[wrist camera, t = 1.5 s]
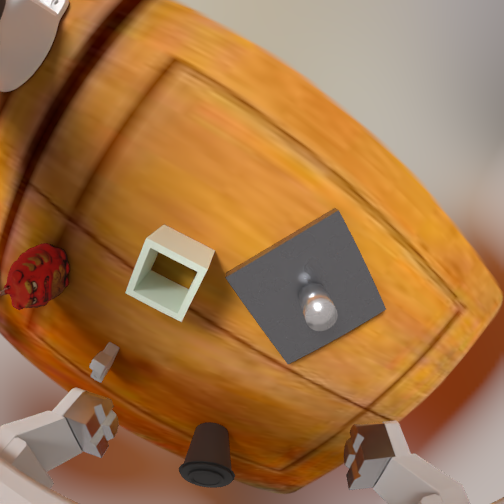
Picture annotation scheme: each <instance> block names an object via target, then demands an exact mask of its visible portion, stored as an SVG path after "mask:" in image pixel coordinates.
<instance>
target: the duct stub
mask: <svg viewBox="0 0 504 504" xmlns="http://www.w3.org/2000/svg"><path fill="white" fill-rule="evenodd" d="M225 278H226V279H227V281H228V282H229V284H230V285H231V286H232V288H233V289H234V291H235V292H236V293H237V295H238V296H239V298H240V299H241V301H242V302H243V303H244V305H245V306H246V308H247V309H248V310H249V312H250V313H251V314H252V316H253V317H254V319H255V320H256V321H257V323H258V324H259V326H260V327H261V328H262V330H263V331H264V332H265V334H266V335H267V337H268V338H269V339H270V341H271V342H272V343H273V345H274V346H275V347H276V349H277V350H278V351H279V353H280V354H281V356H282V357H283V358H284V360H285V361H286V362H287V364H290V363H292V362H294V361H296V360H297V359H299V358H301V357H303V356H305V355H307V354H309V353H311V352H313V351H315V350H317V349H319V348H321V347H322V346H324V345H326V344H328V343H330V342H332V341H333V340H335V339H337V338H339V337H340V336H342V335H344V334H346V333H348V332H349V331H351V330H353V329H354V328H356V327H358V326H360V325H361V324H363V323H365V322H366V321H368V320H370V319H371V318H373V317H374V316H376V315H378V314H379V313H381V312H382V311H384V310H386V308H385V306H384V304H383V301H382V299H381V297H380V295H379V292H378V290H377V288H376V286H375V283H374V281H373V279H372V277H371V275H370V272H369V270H368V268H367V266H366V264H365V262H364V260H363V258H362V255H361V253H360V251H359V249H358V247H357V245H356V243H355V241H354V239H353V237H352V235H351V233H350V231H349V229H348V227H347V225H346V223H345V222H344V220H343V218H342V216H341V214H340V212H339V210H337V209H335V208H334V209H333V210H331V211H329V212H328V213H326V214H324V215H322V216H321V217H319V218H317V219H316V220H314V221H312V222H311V223H309V224H307V225H306V226H304V227H302V228H301V229H299V230H297V231H296V232H294V233H292V234H291V235H289V236H287V237H286V238H284V239H282V240H281V241H279V242H277V243H276V244H274V245H272V246H271V247H269V248H267V249H265V250H264V251H262V252H260V253H259V254H257V255H255V256H254V257H252V258H250V259H249V260H247V261H245V262H244V263H242V264H240V265H239V266H237V267H235V268H233V269H232V270H230V271H228V272H227V273H226V277H225Z"/></svg>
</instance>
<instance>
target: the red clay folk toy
mask: <svg viewBox="0 0 504 504" xmlns="http://www.w3.org/2000/svg"><path fill="white" fill-rule="evenodd" d="M69 271H70V266H69V264H68V260H67V254H66V252H65V251H64V250H63V249H59V248H57V247H56V248H55V247H54V246H53V245H51V244H48V243H44V244H40V245H37V246H35V247H33V248H30V249H28V250H27V251H26V252H24V253H22V254H21V255H20V257H19V258H18V260H17V261H15V262H14V263H13V265H12V266H11V268H10V271H9V274H8V277H7V284H6V285H5V286H4V289H3V290H2V291H1V292H0V295H6V294H10V297H11V299H12V305H13V307H14V308H16V309H18V310H20V309H23V308H32V307H36V308H37V307H40V306H45V305H46V304H47V303H48V301H50V300H52V299H53V298H55V297H57V296H58V295H60V294H61V293H62V292H63V289H64V288H65V287H67V286H68V284H69V280H68V277H67V274H68V273H69Z"/></svg>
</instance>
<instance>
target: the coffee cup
mask: <svg viewBox="0 0 504 504" xmlns="http://www.w3.org/2000/svg"><path fill="white" fill-rule="evenodd" d="M179 472H180V474H181V476H182V477H183V478H184V479H185V480H187V481H188V482H190V483H192V484H195V485H199V486H203V487H223V486H226V485H228V484H230V483H231V482H232V481H233V480H234V477H235V475H234V473H233V471H232V470H231V460H230V449H229V437H228V431H227V429H226V428H225V427H223V426H222V425H219V424H216V423H202V424H200V425H198V426H197V427H196V430H195V432H194V435H193V438H192V441H191V444H190V447H189V450H188V453H187V456H186V458H185V461H184V464H182V465H181V466H180V467H179Z"/></svg>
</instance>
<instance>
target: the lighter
mask: <svg viewBox="0 0 504 504" xmlns="http://www.w3.org/2000/svg"><path fill="white" fill-rule="evenodd" d="M118 351H119V347H118V346H116V345H114V344H113V343H111V342H109V343H108V344H107V346H106V347H105V348H104V350H103V351H100V352H99V353H98V354H97V355H96V356H95V357H94V358H93V360H92V362H91V364H90V366H89V367H90V368H91V369H92V370H93V371H92V374H91V377H92V378H94V380H97V381H98V382H100V383H101V382H102V381H103V379H104V377H105V375H106V374H107V372H108V370H109V369H110V367H111V365H112V364H113V361H114V359H115V357H116V355H117V353H118Z"/></svg>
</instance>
